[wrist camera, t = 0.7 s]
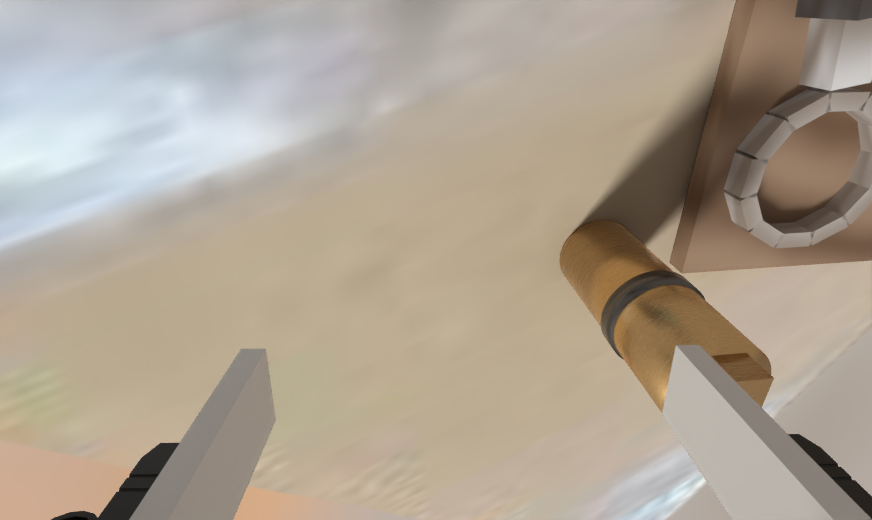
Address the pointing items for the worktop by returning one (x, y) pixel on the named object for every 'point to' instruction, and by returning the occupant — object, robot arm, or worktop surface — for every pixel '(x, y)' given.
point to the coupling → (654, 311)
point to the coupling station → (785, 142)
